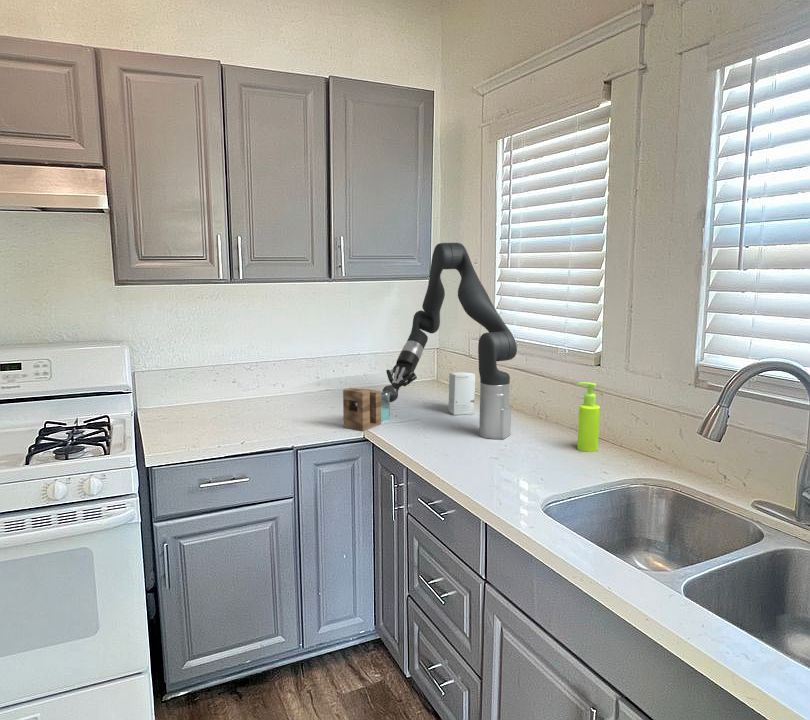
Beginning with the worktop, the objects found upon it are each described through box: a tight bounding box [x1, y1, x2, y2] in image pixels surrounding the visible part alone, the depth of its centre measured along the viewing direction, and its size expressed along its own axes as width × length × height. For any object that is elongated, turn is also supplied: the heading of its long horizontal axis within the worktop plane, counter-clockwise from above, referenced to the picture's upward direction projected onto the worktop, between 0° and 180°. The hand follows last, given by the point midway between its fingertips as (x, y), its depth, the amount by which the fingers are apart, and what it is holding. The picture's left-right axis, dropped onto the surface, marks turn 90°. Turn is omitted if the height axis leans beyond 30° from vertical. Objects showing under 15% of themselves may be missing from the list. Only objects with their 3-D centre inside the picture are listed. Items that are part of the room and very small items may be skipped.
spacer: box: [381, 408, 390, 423], centre depth 213 cm, size 5×6×4 cm
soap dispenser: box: [576, 381, 601, 453], centre depth 180 cm, size 6×7×20 cm
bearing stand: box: [342, 387, 382, 432], centre depth 205 cm, size 8×10×13 cm
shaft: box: [353, 384, 399, 417], centre depth 211 cm, size 6×21×10 cm, turn 147°
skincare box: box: [447, 371, 476, 416], centre depth 222 cm, size 8×6×15 cm
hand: (392, 393), depth 219 cm, fingers closed
